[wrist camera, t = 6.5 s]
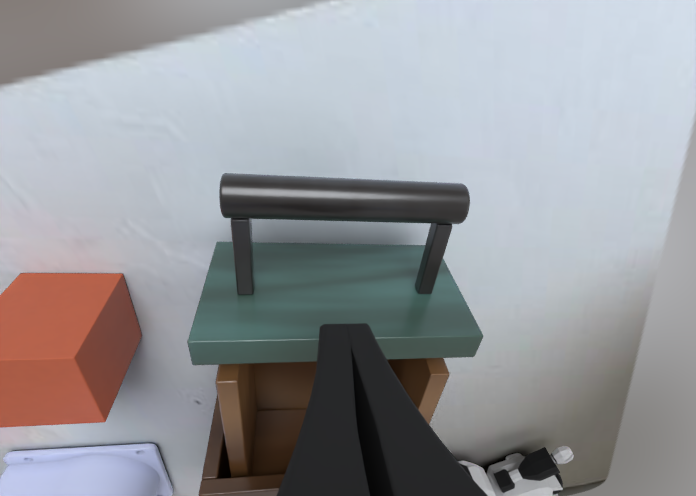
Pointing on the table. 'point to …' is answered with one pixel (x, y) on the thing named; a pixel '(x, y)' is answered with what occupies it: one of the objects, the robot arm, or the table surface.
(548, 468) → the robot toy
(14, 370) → the block
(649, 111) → the table surface
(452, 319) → the drawer
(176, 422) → the table surface
